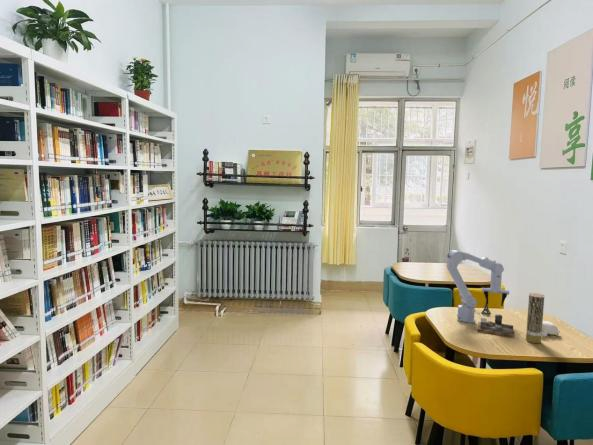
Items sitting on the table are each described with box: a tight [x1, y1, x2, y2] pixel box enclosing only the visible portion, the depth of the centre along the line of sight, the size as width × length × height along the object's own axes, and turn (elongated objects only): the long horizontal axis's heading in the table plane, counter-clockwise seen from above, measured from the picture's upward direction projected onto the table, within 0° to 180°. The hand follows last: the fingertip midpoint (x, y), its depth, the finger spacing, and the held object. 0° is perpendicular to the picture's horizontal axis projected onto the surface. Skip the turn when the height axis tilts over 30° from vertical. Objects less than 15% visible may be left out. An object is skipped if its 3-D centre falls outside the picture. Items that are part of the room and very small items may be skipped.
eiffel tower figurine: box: [480, 300, 492, 318], centre depth 255 cm, size 15×10×13 cm
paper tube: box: [525, 292, 545, 344], centre depth 208 cm, size 7×7×25 cm
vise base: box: [476, 317, 515, 339], centre depth 224 cm, size 18×14×5 cm
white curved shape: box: [541, 320, 561, 338], centre depth 221 cm, size 9×8×15 cm
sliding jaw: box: [494, 314, 503, 329], centre depth 223 cm, size 4×8×7 cm, turn 153°
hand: (494, 304), depth 239 cm, fingers open, 7 cm apart
